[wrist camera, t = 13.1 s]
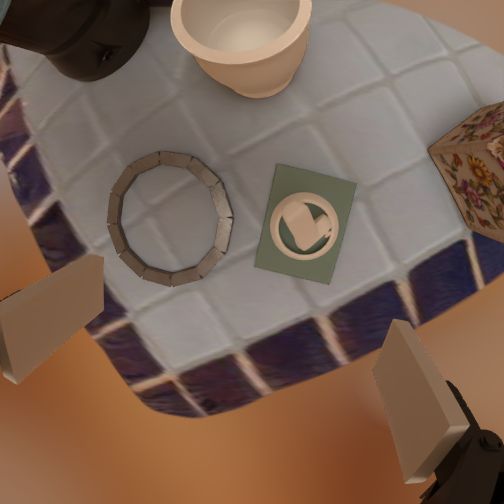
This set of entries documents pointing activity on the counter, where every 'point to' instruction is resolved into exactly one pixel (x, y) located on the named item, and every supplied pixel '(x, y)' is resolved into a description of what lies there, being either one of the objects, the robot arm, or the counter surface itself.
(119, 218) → the metal ring
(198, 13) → the jar
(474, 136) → the decorative jar
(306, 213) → the hook
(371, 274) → the counter surface
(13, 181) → the counter surface
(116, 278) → the counter surface
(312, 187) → the rubber mat
